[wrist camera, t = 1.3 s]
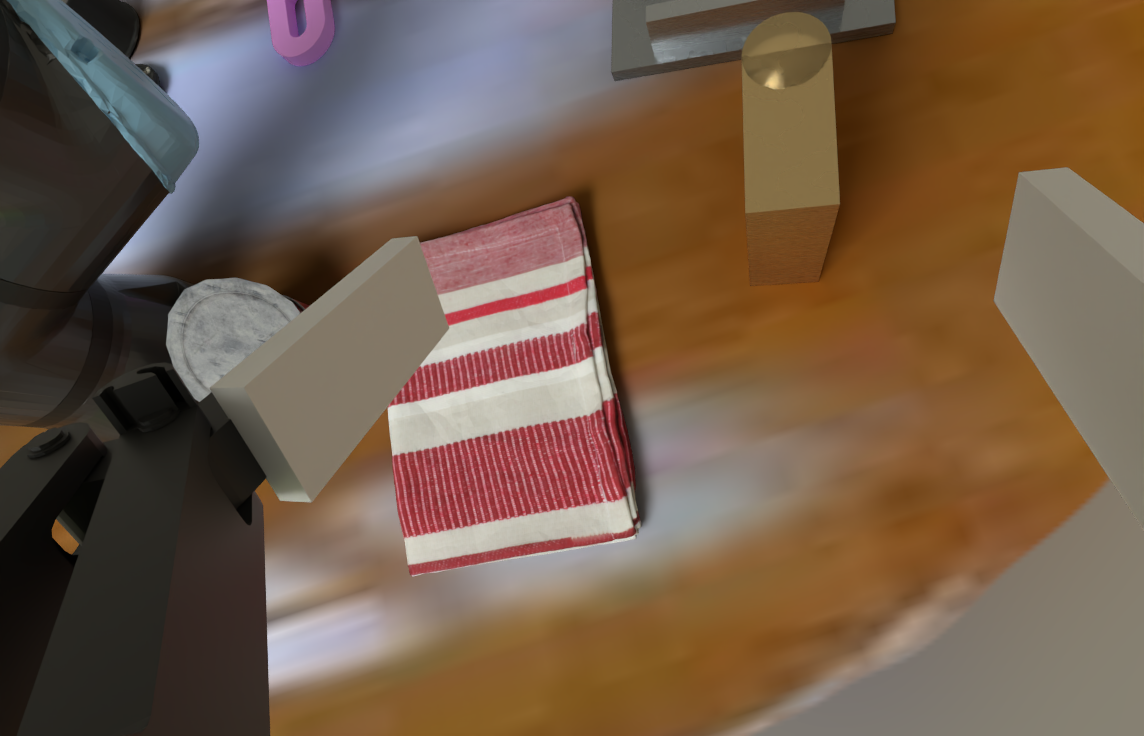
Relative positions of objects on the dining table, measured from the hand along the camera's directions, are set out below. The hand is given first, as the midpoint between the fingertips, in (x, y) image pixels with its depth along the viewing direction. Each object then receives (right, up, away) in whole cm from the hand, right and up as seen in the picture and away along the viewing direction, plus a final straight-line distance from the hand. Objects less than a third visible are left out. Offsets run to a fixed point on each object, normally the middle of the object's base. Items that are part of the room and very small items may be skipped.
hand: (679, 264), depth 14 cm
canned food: (-25, -2, +34) cm, 42 cm away
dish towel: (-7, -4, +29) cm, 30 cm away
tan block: (+11, +7, +24) cm, 27 cm away
